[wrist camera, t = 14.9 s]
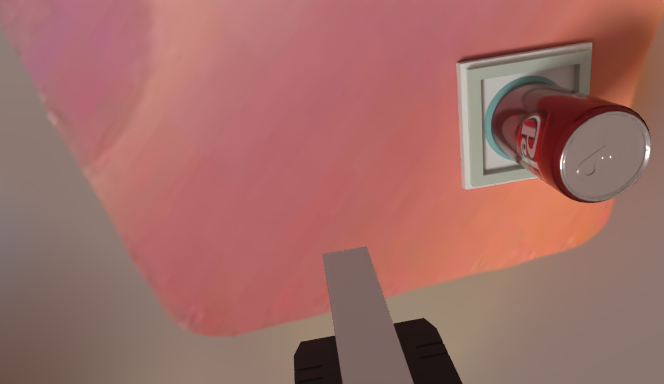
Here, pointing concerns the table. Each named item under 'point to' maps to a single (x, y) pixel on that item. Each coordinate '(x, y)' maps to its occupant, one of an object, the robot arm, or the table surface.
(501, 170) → the base plate
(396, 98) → the table surface
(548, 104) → the soda can
